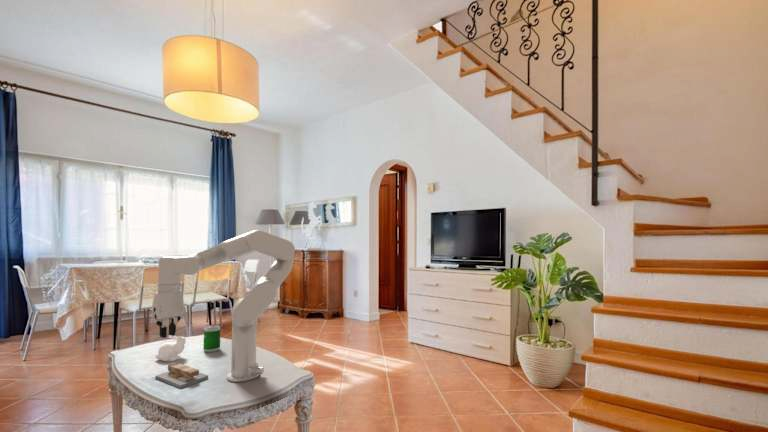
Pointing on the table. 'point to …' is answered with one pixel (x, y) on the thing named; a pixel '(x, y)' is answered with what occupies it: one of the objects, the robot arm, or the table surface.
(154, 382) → the table surface
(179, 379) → the label board
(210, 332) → the soda can
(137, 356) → the table surface
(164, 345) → the rabbit
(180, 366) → the swing bar
